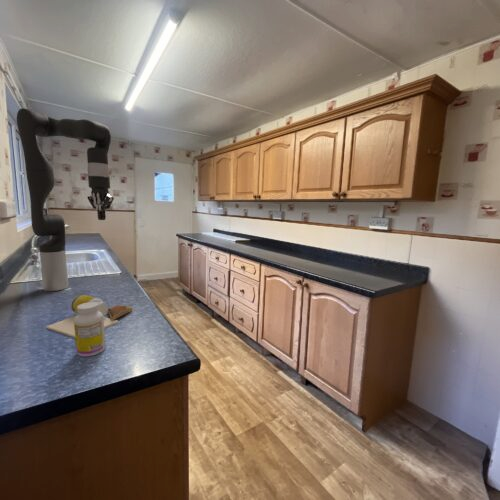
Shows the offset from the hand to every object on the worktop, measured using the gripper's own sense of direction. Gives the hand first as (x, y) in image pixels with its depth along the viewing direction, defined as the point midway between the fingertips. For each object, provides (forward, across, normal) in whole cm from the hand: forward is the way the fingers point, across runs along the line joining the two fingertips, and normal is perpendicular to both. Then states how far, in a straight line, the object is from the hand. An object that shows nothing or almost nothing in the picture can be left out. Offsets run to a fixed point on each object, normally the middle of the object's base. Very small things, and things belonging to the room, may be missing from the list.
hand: (101, 219), depth 110 cm
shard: (+32, +22, -12) cm, 41 cm away
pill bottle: (+28, +9, -18) cm, 34 cm away
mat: (+32, +18, -23) cm, 44 cm away
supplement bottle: (+32, +35, -32) cm, 57 cm away
